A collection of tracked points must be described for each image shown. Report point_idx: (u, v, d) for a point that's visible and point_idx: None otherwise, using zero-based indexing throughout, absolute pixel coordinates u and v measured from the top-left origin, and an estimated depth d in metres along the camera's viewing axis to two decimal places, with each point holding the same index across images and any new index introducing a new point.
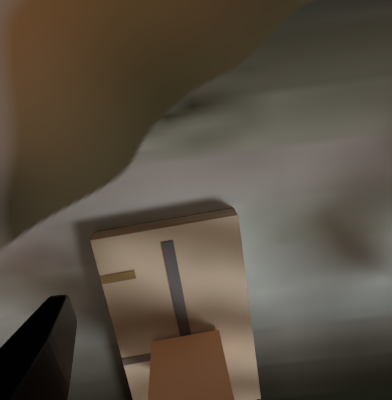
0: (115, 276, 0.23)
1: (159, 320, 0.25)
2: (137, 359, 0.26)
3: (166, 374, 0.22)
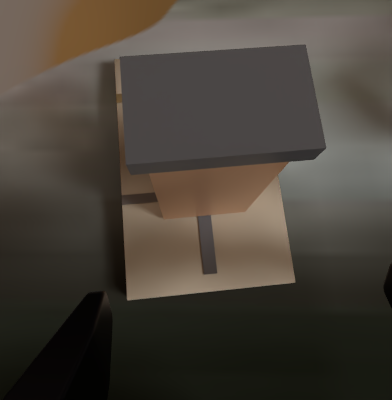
0: None
1: None
2: (140, 199, 0.21)
3: None
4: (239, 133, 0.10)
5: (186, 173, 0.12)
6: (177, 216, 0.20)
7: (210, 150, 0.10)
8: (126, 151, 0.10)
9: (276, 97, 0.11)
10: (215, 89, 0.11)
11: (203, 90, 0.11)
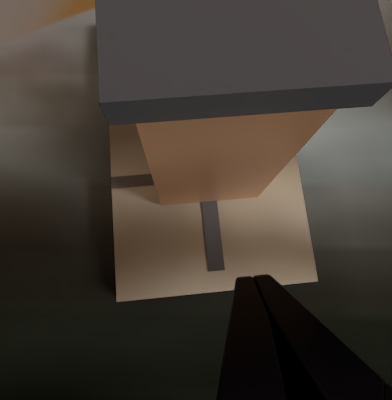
0: None
1: None
2: (133, 182, 0.18)
3: None
4: (269, 59, 0.07)
5: (189, 131, 0.09)
6: (177, 201, 0.17)
7: (226, 83, 0.07)
8: (100, 83, 0.07)
9: (321, 10, 0.07)
10: None
11: None
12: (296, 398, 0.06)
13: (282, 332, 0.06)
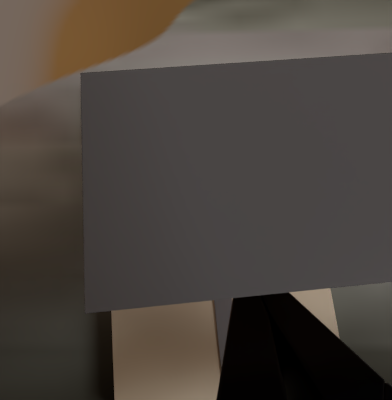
0: None
1: None
2: None
3: None
4: (330, 236, 0.05)
5: None
6: None
7: (270, 277, 0.05)
8: (87, 281, 0.05)
9: None
10: (274, 140, 0.05)
11: (251, 142, 0.05)
12: (296, 398, 0.06)
13: (282, 332, 0.06)
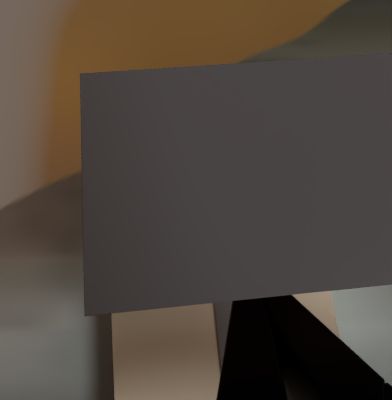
0: None
1: (189, 345, 0.15)
2: None
3: None
4: (331, 239, 0.05)
5: None
6: None
7: (271, 279, 0.05)
8: (87, 284, 0.05)
9: None
10: (275, 141, 0.05)
11: (251, 143, 0.05)
12: (296, 398, 0.06)
13: (282, 332, 0.06)
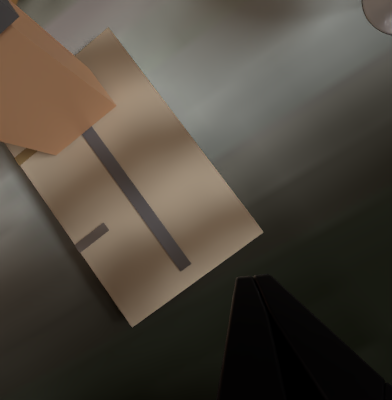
0: (27, 150, 0.22)
1: (90, 179, 0.22)
2: (91, 238, 0.22)
3: None
4: None
5: None
6: (61, 145, 0.21)
7: None
8: None
9: None
10: None
11: None
12: (296, 398, 0.06)
13: (282, 332, 0.06)
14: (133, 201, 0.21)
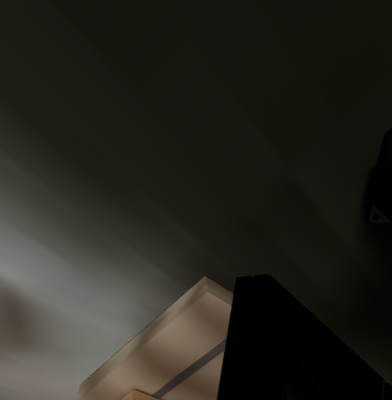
0: None
1: (191, 387, 0.29)
2: None
3: None
4: None
5: None
6: None
7: None
8: None
9: None
10: None
11: None
12: (296, 398, 0.06)
13: (282, 332, 0.06)
14: (202, 364, 0.27)
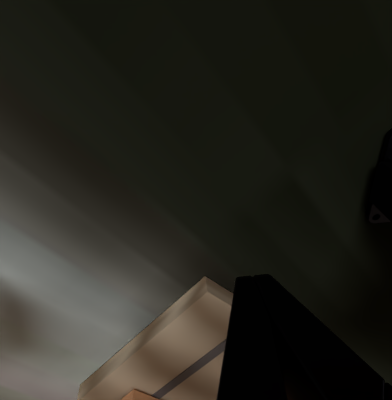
0: None
1: (191, 387, 0.29)
2: None
3: None
4: None
5: None
6: None
7: None
8: None
9: None
10: None
11: None
12: (296, 398, 0.06)
13: (282, 332, 0.06)
14: (202, 364, 0.27)
